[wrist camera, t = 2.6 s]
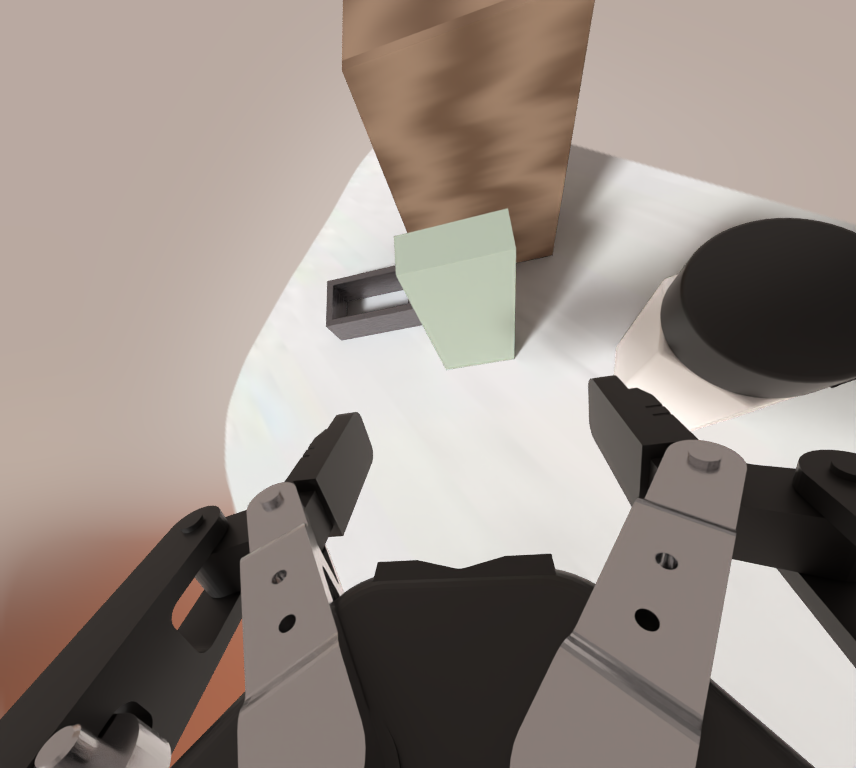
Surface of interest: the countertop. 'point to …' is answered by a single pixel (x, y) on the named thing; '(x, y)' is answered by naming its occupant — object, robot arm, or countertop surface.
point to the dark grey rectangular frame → (370, 321)
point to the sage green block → (463, 287)
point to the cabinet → (470, 105)
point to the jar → (748, 322)
